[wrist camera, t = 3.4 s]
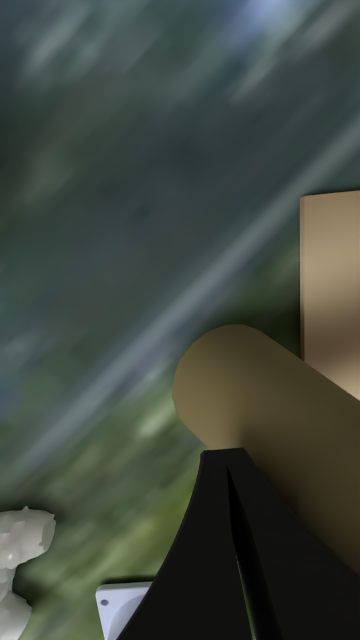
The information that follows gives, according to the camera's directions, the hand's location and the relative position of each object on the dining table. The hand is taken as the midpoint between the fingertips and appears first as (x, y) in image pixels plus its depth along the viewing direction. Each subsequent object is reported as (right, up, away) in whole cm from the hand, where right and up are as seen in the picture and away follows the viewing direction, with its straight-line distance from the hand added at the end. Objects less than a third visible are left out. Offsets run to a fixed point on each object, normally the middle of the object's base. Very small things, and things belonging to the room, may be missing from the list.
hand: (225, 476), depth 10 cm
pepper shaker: (+1, +2, +6) cm, 7 cm away
